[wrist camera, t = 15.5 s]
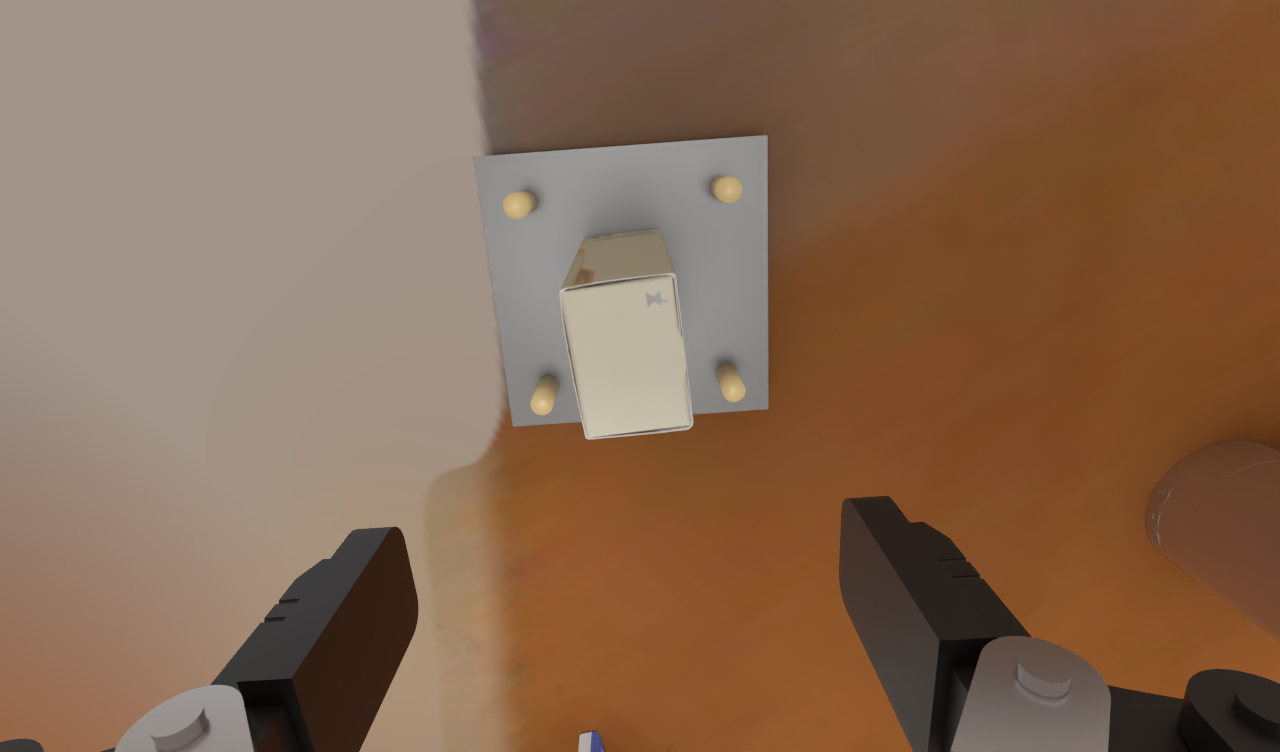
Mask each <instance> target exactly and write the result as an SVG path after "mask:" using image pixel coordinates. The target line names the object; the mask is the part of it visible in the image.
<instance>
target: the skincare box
mask: <svg viewBox="0 0 1280 752" xmlns="http://www.w3.org/2000/svg"><path fill="white" fill-rule="evenodd" d="M559 299H560V308H561V315H562V323H563V330H564V336H565V342H566V348H567V353H568V358H569V364H570V369H571V374H572V379H573V384H574V389H575V394H576V398H577V403H578V407H579V411H580V417H581V421H582V425H583V429H584V433H585V437H586V439H589V440H592V439H600V438H614V437H624V436H635V435H645V434H655V433H665V432H673V431H682V430H688V429H690V428H691V427H692V425H693V414H692V405H691V395H690V385H689V376H688V368H687V359H686V351H685V344H684V335H683V327H682V319H681V310H680V302H679V295H678V287H677V278H676V274H675V271H674V268H673V265H672V262H671V259H670V256H669V254H668V251H667V248H666V245H665V243H664V240H663V237H662V234H661V231H660V229H650V230H640V231H631V232H623V233H615V234H608V235H602V236H596V237H590V238H585V239H584V240H583V241H582V243H581V246H580V248H579V250H578V252H577V255H576V256H575V259H574V261H573V263H572V265H571V267H570V269H569V272H568V274H567V276H566V278H565V280H564V283H563V285H562V287H561V289H560V291H559Z"/></svg>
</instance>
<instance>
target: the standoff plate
mask: <svg viewBox="0 0 1280 752" xmlns="http://www.w3.org/2000/svg"><path fill="white" fill-rule="evenodd" d="M473 158H474V165H475V173H476V179H477V186H478V193H479V199H480V206H481V213H482V220H483V227H484V233H485V240H486V247H487V254H488V260H489V267H490V274H491V281H492V288H493V294H494V301H495V308H496V315H497V321H498V328H499V335H500V342H501V348H502V355H503V362H504V369H505V376H506V382H507V389H508V396H509V403H510V409H511V416H512V423H513V426H528V425H542V424H557V423H572V422H582V421H581V417H580V411H579V407H578V403H577V398H576V394H575V389H574V384H573V379H572V374H571V369H570V364H569V358H568V353H567V348H566V342H565V336H564V330H563V323H562V315H561V308H560V299H559V291H560V289H561V287H562V285H563V283H564V280H565V278H566V276H567V274H568V272H569V269H570V267H571V265H572V263H573V261H574V259H575V256H576V255H577V252H578V250H579V248H580V246H581V243H582V241H583V240H584V239H585V238H590V237H596V236H602V235H608V234H615V233H623V232H631V231H640V230H650V229H660V231H661V234H662V237H663V240H664V243H665V245H666V248H667V251H668V254H669V256H670V259H671V262H672V265H673V268H674V271H675V274H676V278H677V287H678V295H679V302H680V310H681V319H682V327H683V335H684V344H685V351H686V359H687V368H688V376H689V385H690V395H691V405H692V414H705V413H719V412H734V411H749V410H763V409H768V136H767V135H761V136H747V137H734V138H720V139H707V140H693V141H680V142H666V143H653V144H639V145H626V146H612V147H599V148H585V149H572V150H558V151H545V152H531V153H518V154H504V155H491V156H479V157H473Z"/></svg>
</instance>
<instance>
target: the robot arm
mask: <svg viewBox="0 0 1280 752" xmlns="http://www.w3.org/2000/svg"><path fill="white" fill-rule="evenodd" d="M1145 526H1146V530H1147V535H1148V537H1149V539H1150V541H1151V543H1152V545H1153V546H1154V547H1155V548H1156V549H1157V550H1158V551H1159V552H1160V553H1161V554H1162V555H1164V556H1165V557H1166V558H1168V559H1169V560H1170V561H1172V562H1173V563H1174V564H1176V565H1177V566H1178V567H1180V568H1181V569H1182V570H1184V571H1185V572H1186V573H1188V574H1189V575H1190V576H1192V577H1193V578H1194V579H1195V580H1197V581H1198V582H1199V583H1201V584H1202V585H1203V586H1205V587H1206V588H1207V589H1209V590H1210V591H1211V592H1213V593H1214V594H1215V595H1217V596H1218V597H1219V598H1221V599H1222V600H1223V601H1225V602H1226V603H1227V604H1229V605H1230V606H1231V607H1233V608H1234V609H1235V610H1237V611H1238V612H1239V613H1241V614H1242V615H1243V616H1245V617H1246V618H1247V619H1249V620H1250V621H1251V622H1253V623H1254V624H1255V625H1257V626H1258V627H1259V628H1261V629H1262V630H1263V631H1265V632H1266V633H1267V634H1269V635H1270V636H1271V637H1273V638H1274V639H1276V640H1277V641H1278V642H1280V451H1278V450H1275V449H1273V448H1271V447H1269V446H1266V445H1264V444H1261V443H1258V442H1253V441H1246V440H1236V441H1225V442H1221V443H1217V444H1213V445H1210V446H1207V447H1205V448H1203V449H1200V450H1198V451H1196V452H1194V453H1192V454H1191V455H1189V456H1188V457H1186V458H1184V459H1183V460H1181V461H1180V462H1179V463H1178V464H1176V465H1175V466H1174V467H1173V468H1172V469H1171V470H1169V471H1168V472H1167V474H1166V475H1165V476H1164V477H1163V478H1162V479H1161V481H1160V482H1159V483H1158V485H1157V486H1156V488H1155V490H1154V491H1153V493H1152V495H1151V497H1150V500H1149V503H1148V506H1147V509H1146V516H1145ZM839 579H840V587H841V593H842V597H843V601H844V604H845V607H846V609H847V612H848V614H849V616H850V618H851V620H852V622H853V624H854V626H855V629H856V631H857V633H858V635H859V637H860V639H861V641H862V643H863V646H864V648H865V650H866V652H867V654H868V656H869V658H870V660H871V663H872V665H873V667H874V669H875V671H876V673H877V675H878V677H879V680H880V682H881V684H882V686H883V688H884V690H885V692H886V694H887V696H888V699H889V701H890V703H891V705H892V707H893V709H894V711H895V713H896V716H897V718H898V720H899V722H900V724H901V726H902V728H903V730H904V733H905V735H906V737H907V739H908V741H909V743H910V745H911V747H912V750H913V752H1280V684H1279V683H1277V682H1274V681H1272V680H1269V679H1266V678H1263V677H1260V676H1257V675H1253V674H1249V673H1245V672H1241V671H1234V670H1226V669H1212V670H1205V671H1201V672H1199V673H1197V674H1195V675H1193V676H1192V677H1191V678H1190V680H1189V682H1188V685H1187V688H1186V692H1185V695H1184V699H1178V698H1173V697H1167V696H1162V695H1156V694H1151V693H1145V692H1139V691H1134V690H1128V689H1123V688H1118V687H1114V686H1110V685H1107V684H1106V682H1105V681H1104V679H1103V678H1102V676H1101V675H1100V674H1099V673H1098V672H1097V670H1095V669H1094V668H1093V667H1092V666H1091V665H1090V664H1089V663H1088V662H1086V661H1085V660H1084V659H1082V658H1081V657H1079V656H1078V655H1076V654H1074V653H1073V652H1071V651H1069V650H1067V649H1065V648H1063V647H1061V646H1059V645H1056V644H1054V643H1051V642H1048V641H1045V640H1041V639H1038V638H1032V637H1031V636H1030V634H1029V633H1028V632H1027V631H1026V630H1025V628H1024V627H1023V626H1022V625H1021V624H1020V622H1019V621H1018V620H1017V619H1016V618H1015V616H1014V615H1013V614H1012V613H1011V612H1010V610H1009V609H1008V608H1007V607H1006V606H1005V604H1004V603H1003V602H1002V601H1001V600H1000V598H999V597H998V596H997V595H996V594H995V592H994V591H993V590H992V589H991V588H990V586H989V585H988V584H987V583H986V582H985V580H984V579H980V574H979V573H978V572H977V571H976V570H975V568H974V567H973V566H972V565H971V564H970V562H966V558H965V556H964V555H963V554H962V553H961V552H960V550H959V549H958V548H957V547H956V546H955V544H954V543H953V542H952V541H951V540H950V538H948V537H947V536H945V535H943V534H942V533H940V532H939V531H937V530H935V529H934V528H932V527H931V526H929V525H927V524H926V523H924V522H914V523H910V522H909V521H908V520H907V518H906V517H905V516H904V514H903V513H902V512H901V510H900V509H899V508H898V506H897V505H896V504H895V503H894V501H893V500H892V499H891V498H890V497H889V496H877V497H862V498H847V499H845V500H844V502H843V505H842V513H841V538H840V563H839ZM417 599H418V598H417V593H416V589H415V585H414V580H413V575H412V571H411V567H410V562H409V557H408V553H407V548H406V544H405V539H404V536H403V534H402V532H401V530H400V529H399V528H398V527H384V528H369V529H356V530H353V531H352V532H351V533H350V534H349V535H348V536H347V538H346V539H345V540H344V542H343V543H342V544H341V546H340V547H339V548H338V549H337V551H336V552H335V553H334V555H333V556H332V557H331V559H323V560H321V561H320V562H319V563H317V564H316V565H315V566H313V567H312V568H310V569H309V570H308V571H306V572H305V573H303V574H302V575H301V576H299V577H298V578H297V579H296V580H295V581H294V582H293V583H292V585H291V586H290V587H289V588H288V590H287V591H286V592H285V593H284V595H283V596H282V597H281V598H280V600H279V604H276V605H275V606H274V607H273V608H272V609H271V611H270V612H269V613H268V614H267V616H266V617H265V621H264V623H260V624H259V626H258V627H257V628H256V629H255V630H254V632H253V633H252V634H251V636H250V637H249V638H248V639H247V640H246V642H245V643H244V644H243V645H242V647H241V648H240V649H239V650H238V651H237V653H236V654H235V655H234V656H233V658H232V659H231V660H230V661H229V663H228V664H227V665H226V666H225V668H224V669H223V670H222V671H221V673H220V674H219V675H218V676H217V677H216V679H215V680H214V681H213V682H212V684H211V685H210V686H204V687H199V688H196V689H193V690H189V691H187V692H184V693H182V694H179V695H177V696H175V697H173V698H171V699H169V700H167V701H165V702H164V703H162V704H160V705H159V706H157V707H155V708H154V709H152V710H151V711H149V712H148V713H147V714H145V715H144V716H143V717H142V718H140V719H139V720H138V721H137V722H136V723H135V724H134V725H133V726H132V727H131V728H130V729H129V730H128V731H127V732H126V733H125V735H124V736H123V737H122V738H121V740H120V741H119V743H118V745H117V747H115V748H112V749H108V750H105V751H102V752H359V751H360V749H361V746H362V744H363V742H364V740H365V738H366V736H367V733H368V731H369V729H370V727H371V725H372V723H373V721H374V718H375V716H376V714H377V712H378V710H379V708H380V706H381V704H382V701H383V699H384V697H385V695H386V693H387V690H388V688H389V686H390V684H391V682H392V680H393V678H394V676H395V674H396V671H397V669H398V667H399V665H400V663H401V660H402V658H403V656H404V654H405V652H406V650H407V648H408V646H409V643H410V641H411V639H412V637H413V635H414V632H415V629H416V625H417V619H418V600H417ZM0 752H45V751H44V749H43V748H42V746H41V745H40V743H38V742H36V741H34V740H30V739H15V740H9V741H4V742H0Z"/></svg>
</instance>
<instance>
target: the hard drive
mask: <svg viewBox="0 0 1280 752" xmlns="http://www.w3.org/2000/svg"><path fill="white" fill-rule="evenodd" d="M578 752H605V749H604V746H603V743H602V740H601V737H600V735H599V734H598V732H597V731H587V732H582V733H581V734H580V740H579V751H578Z"/></svg>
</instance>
